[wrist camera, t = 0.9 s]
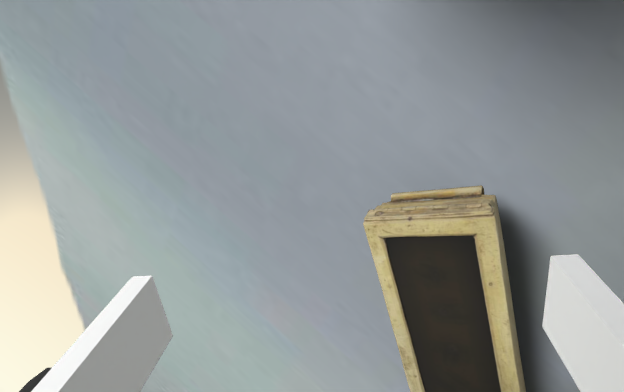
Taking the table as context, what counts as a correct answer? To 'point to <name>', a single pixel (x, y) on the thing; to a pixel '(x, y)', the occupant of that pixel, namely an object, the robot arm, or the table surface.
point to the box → (447, 289)
